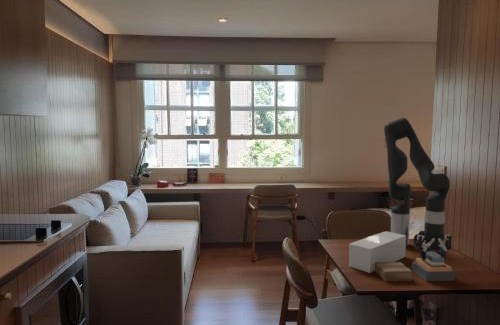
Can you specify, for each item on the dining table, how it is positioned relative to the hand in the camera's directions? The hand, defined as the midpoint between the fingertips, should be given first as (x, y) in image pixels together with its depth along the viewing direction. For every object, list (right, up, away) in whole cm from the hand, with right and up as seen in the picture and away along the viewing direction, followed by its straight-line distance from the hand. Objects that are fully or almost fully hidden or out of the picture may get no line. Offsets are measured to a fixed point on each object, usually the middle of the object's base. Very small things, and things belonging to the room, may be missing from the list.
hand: (433, 259), depth 157 cm
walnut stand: (-17, -7, 0) cm, 18 cm away
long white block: (-17, -6, +18) cm, 26 cm away
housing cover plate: (0, 0, 0) cm, 0 cm away
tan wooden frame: (0, -7, +1) cm, 7 cm away
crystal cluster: (+15, -4, +36) cm, 39 cm away
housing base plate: (0, -3, 0) cm, 3 cm away
